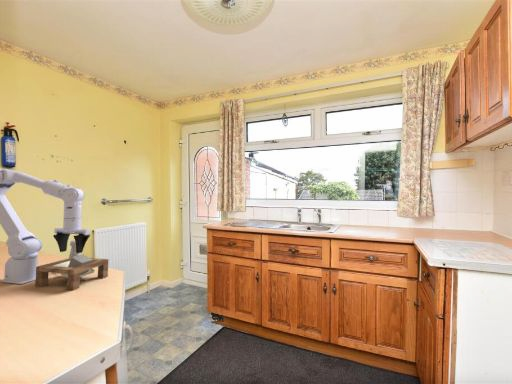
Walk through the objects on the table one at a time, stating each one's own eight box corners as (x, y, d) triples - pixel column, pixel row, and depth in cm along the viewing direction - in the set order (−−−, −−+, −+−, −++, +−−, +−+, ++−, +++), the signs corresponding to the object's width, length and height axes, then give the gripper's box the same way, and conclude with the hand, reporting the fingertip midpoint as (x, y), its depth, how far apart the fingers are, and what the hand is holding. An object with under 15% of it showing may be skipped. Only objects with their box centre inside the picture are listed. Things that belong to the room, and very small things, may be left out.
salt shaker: (74, 272, 107) (75, 241, 108) (63, 271, 109) (64, 240, 109) (85, 268, 113) (87, 239, 113) (75, 267, 114) (76, 238, 114)
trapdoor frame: (35, 286, 90) (36, 266, 91) (74, 273, 106) (75, 256, 106) (73, 290, 88) (74, 270, 88) (107, 276, 103) (108, 259, 104)
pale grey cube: (67, 269, 95) (71, 257, 94) (78, 265, 99) (82, 254, 99) (77, 275, 94) (82, 262, 93) (88, 271, 99) (93, 259, 98)
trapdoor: (50, 268, 93) (51, 265, 93) (74, 261, 103) (75, 259, 103) (71, 280, 91) (72, 277, 91) (93, 272, 101) (94, 269, 101)
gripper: (47, 218, 97) (46, 253, 97) (79, 219, 95) (78, 255, 95) (64, 216, 104) (62, 249, 104) (94, 218, 102) (93, 251, 102)
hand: (71, 252), depth 100 cm, fingers open, 7 cm apart
